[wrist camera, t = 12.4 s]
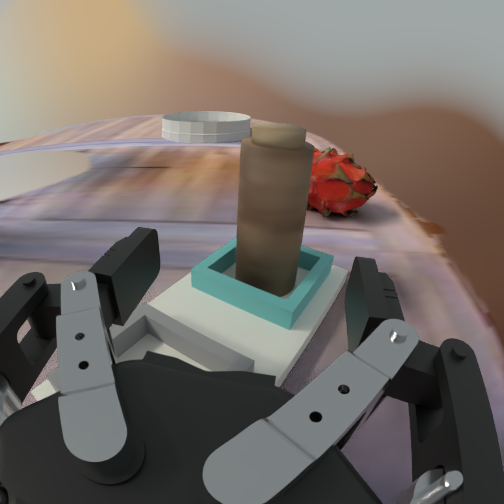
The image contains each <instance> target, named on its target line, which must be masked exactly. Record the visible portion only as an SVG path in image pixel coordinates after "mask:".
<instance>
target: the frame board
mask: <svg viewBox="0 0 504 504" xmlns="http://www.w3.org/2000/svg"><path fill="white" fill-rule="evenodd" d="M236 243H237V237H235V238H234V239H232V240H231V241H230V242H228V243H227V244H225V245H224V246H222V247H221V248H220V249H218V250H217V251H215V252H214V253H213V254H211V255H210V256H208V257H207V258H206V259H204V260H203V261H201V262H200V263H199V264H197V265H196V266H194V267H193V268H192V269H191V272H190V273H189V274H187V275H186V276H185V277H183V278H182V279H181V280H179V281H178V282H176V283H175V284H174V285H172V286H171V287H170V288H168V289H167V290H165V291H164V292H163V293H161V294H160V295H159V296H157V297H156V298H155V299H153V300H152V301H150V302H149V303H148V304H147V303H145V302H144V303H143V304H142V305H140V306H139V307H138V308H136V309H135V310H134V311H133V313H132V314H131V316H130V317H129V319H128V320H127V322H126V323H125V325H124V326H119V325H115V324H114V325H113V326H112V327H110V331H111V335H112V339H113V344H114V348H115V352H116V356H117V360H118V363H119V362H123V361H127V360H136V359H143V358H144V356H145V354H146V352H147V351H151V352H155V353H159V354H163V355H167V356H172V357H176V358H178V359H181V360H183V361H185V362H187V363H189V364H191V365H194V366H196V367H198V368H200V369H202V370H205V371H247V372H253V373H260V374H266V375H273V376H276V380H275V386H277V387H280V386H281V384H282V383H283V381H284V380H285V378H286V377H287V375H288V374H289V372H290V371H291V369H292V368H293V366H294V365H295V363H296V362H297V360H298V359H299V357H300V356H301V354H302V352H303V351H304V349H305V348H306V346H307V345H308V343H309V342H310V340H311V338H312V337H313V335H314V334H315V332H316V330H317V329H318V327H319V325H320V324H321V322H322V321H323V319H324V317H325V316H326V314H327V312H328V311H329V309H330V307H331V306H332V304H333V302H334V301H335V299H336V297H337V295H338V294H339V292H340V290H341V289H342V287H343V285H344V283H345V281H346V277H347V273H348V270H346V269H343V268H340V267H338V266H335V265H332V262H333V258H334V256H332V255H329V254H326V253H323V252H320V251H317V250H314V249H311V248H308V247H305V246H302V245H301V250H300V256H299V262H298V268H297V275H296V281H295V286H294V288H293V290H292V291H291V292H290V293H288V294H287V295H285V296H282V297H278V296H275V295H273V294H270V293H268V292H265V291H263V290H260V289H258V288H255V287H253V286H250V285H248V284H245V283H243V282H241V281H238V280H236V279H235V269H236ZM46 377H47V378H48V379H47V380H45V381H44V382H43V383H42V384H40V385H39V386H38V387H36V388H35V389H34V390H32V391H31V393H32V394H33V396H34V397H35V399H36V400H37V401H39V400H41V399H43V398H46V397H48V396H50V395H52V394H54V393H56V392H58V391H60V390H61V389H60V380H59V368H58V367H57V368H56V369H54V370H53V371H52V372H50V373H49V374H48V375H46Z"/></svg>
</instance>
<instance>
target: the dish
mask: <svg viewBox="0 0 504 504" xmlns="http://www.w3.org/2000/svg"><path fill="white" fill-rule="evenodd" d="M250 118H251V117H250V116H248V115H244V114H239V113H232V112H219V111H194V112H181V113H174V114H169V115H165V116H163V117H162V126H163V127H162V137H163V138H164V139H167V140H170V141H176V142H185V143H225V142H235V141H241V140H242V139H244V138H247V137H250V130H251V128H250Z"/></svg>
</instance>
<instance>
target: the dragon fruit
mask: <svg viewBox="0 0 504 504" xmlns="http://www.w3.org/2000/svg"><path fill="white" fill-rule="evenodd" d="M375 183H376V182H375V181H374V178H373V177H372V175H370V174H369V173H367V172H366V168H365V167H363V166H360V165H357V164H355V163H354V158H353V154H352V153H347V154H344V155H338V153H337V151H336V149H335V148H333V149H332V150H331V149H330V147H329V148H327V149H326V150H325V151H323V152H320V151H319V150H318V149H317V148H314V157H313V165H312V172H311V180H310V188H309V195H308V202H307V208H308V209H310V210H311V209H313V208H317V209H318V211H319V213H321V214H324V215H323V216H329V214H330V213H331V212H334V213H340V214H343V215H344V216H346V217H348V216H352V215H355V214H357V213H358V211H357V210H355V211H353V210H350V209H354V208H356V207H360V206H362V205H363V204H364V203H365V202H366V201H367V200H368V199H369V198H370V197H372V196H373V195H374V194H375V193H376V190H377V188H378V187H377V186H375V185H374V184H375ZM372 189H373V190H372ZM347 210H350V211H347Z"/></svg>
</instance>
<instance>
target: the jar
mask: <svg viewBox="0 0 504 504" xmlns="http://www.w3.org/2000/svg"><path fill="white" fill-rule="evenodd" d="M305 138H306V129H304V128H301V127H299V126H294V125H289V124H281V123H256V124H253V125H252V137H247V138H244V139H242V140H241V153H240V174H239V195H238V218H237V243H236V269H235V279H236V280H238V281H241V282H243V283H245V284H248V285H250V286H253V287H255V288H258V289H260V290H263V291H265V292H268V293H270V294H273V295H275V296H278V297H282V296H285V295H287V294H288V293H290V292H291V291H292V290H293V288H294V286H295V281H296V275H297V268H298V262H299V256H300V250H301V243H302V237H303V230H304V223H305V216H306V209H307V202H308V195H309V188H310V180H311V172H312V165H313V157H314V146H313V145H312V144H310V143H307V142H305Z"/></svg>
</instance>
